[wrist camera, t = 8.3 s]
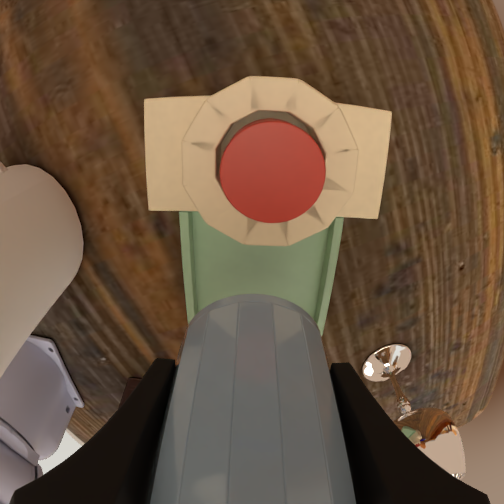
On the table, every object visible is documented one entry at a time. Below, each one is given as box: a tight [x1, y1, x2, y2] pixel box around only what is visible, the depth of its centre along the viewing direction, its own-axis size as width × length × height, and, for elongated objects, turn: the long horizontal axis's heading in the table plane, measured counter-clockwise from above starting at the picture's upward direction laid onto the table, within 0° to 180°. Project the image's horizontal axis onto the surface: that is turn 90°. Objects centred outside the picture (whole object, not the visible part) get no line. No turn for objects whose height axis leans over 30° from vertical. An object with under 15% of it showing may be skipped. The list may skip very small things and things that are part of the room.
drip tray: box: [179, 211, 344, 336], centre depth 18 cm, size 8×8×2 cm
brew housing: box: [144, 76, 392, 246], centre depth 13 cm, size 6×10×6 cm, turn 88°
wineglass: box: [362, 344, 466, 480], centre depth 18 cm, size 6×6×12 cm
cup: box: [145, 294, 358, 504], centre depth 8 cm, size 5×5×7 cm
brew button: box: [219, 118, 326, 223], centre depth 10 cm, size 3×3×2 cm
